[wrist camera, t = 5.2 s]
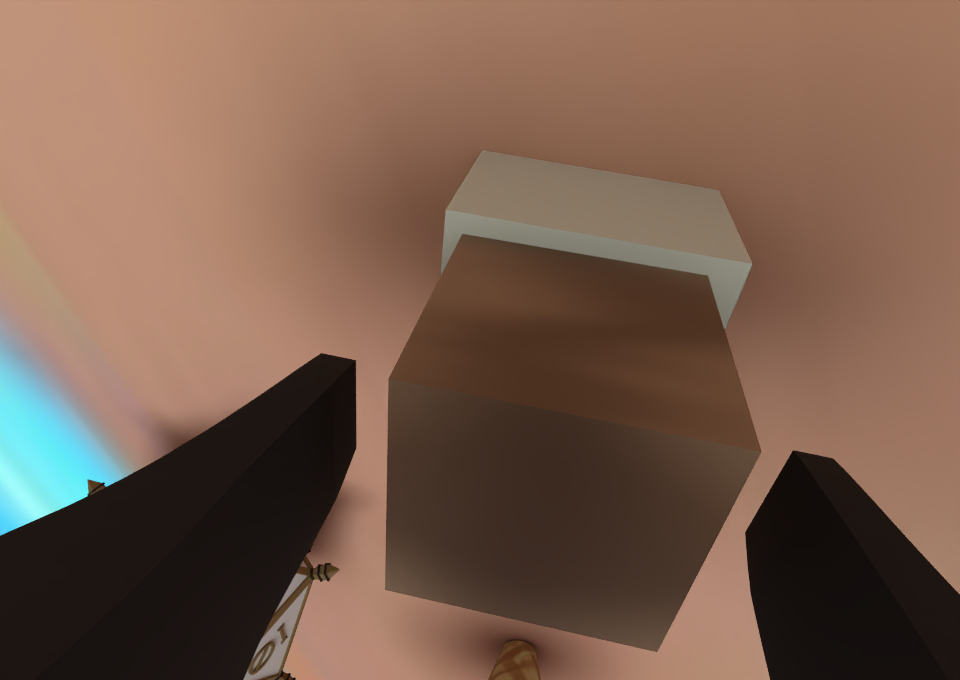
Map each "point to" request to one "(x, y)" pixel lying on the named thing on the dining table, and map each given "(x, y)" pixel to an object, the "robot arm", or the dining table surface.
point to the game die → (277, 618)
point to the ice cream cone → (516, 662)
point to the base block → (601, 218)
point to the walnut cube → (563, 441)
